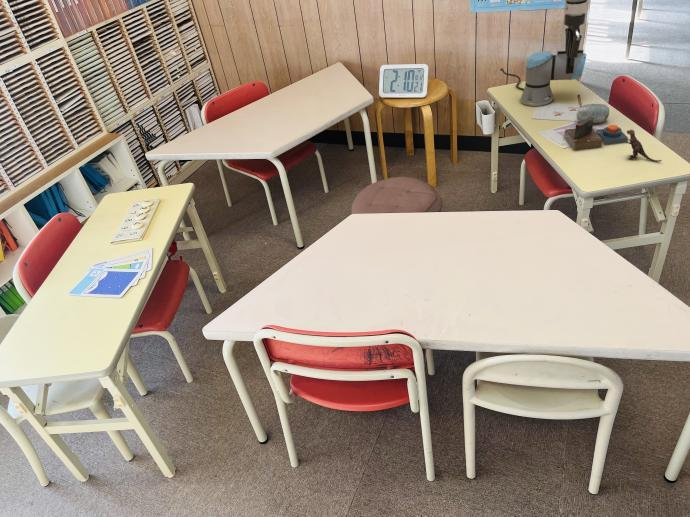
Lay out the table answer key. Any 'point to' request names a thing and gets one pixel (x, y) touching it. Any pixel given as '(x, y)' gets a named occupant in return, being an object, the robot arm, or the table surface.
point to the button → (612, 128)
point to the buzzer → (612, 136)
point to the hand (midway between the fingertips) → (569, 72)
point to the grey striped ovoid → (593, 112)
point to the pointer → (583, 127)
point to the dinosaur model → (637, 147)
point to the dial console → (583, 140)
